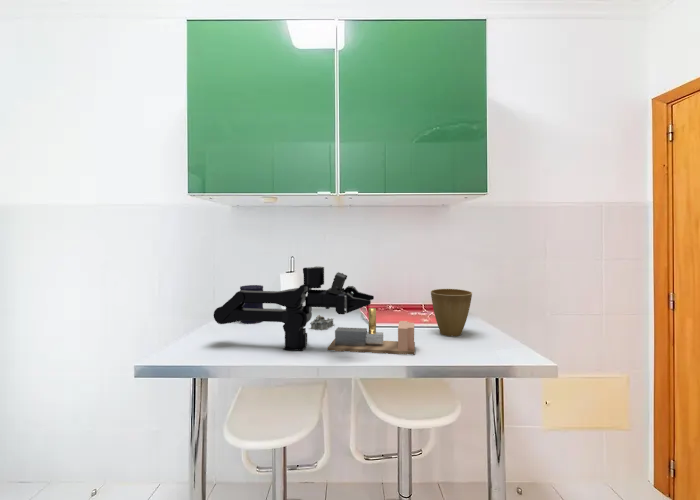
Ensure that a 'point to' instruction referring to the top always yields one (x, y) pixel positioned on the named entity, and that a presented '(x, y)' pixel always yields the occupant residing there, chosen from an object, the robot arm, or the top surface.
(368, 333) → the sliding bolt with handle
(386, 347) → the walnut board
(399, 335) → the terracotta socket
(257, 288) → the storage jar
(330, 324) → the grey castle model
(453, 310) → the plant pot
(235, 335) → the top surface
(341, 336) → the grey rectangular block
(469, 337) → the top surface
